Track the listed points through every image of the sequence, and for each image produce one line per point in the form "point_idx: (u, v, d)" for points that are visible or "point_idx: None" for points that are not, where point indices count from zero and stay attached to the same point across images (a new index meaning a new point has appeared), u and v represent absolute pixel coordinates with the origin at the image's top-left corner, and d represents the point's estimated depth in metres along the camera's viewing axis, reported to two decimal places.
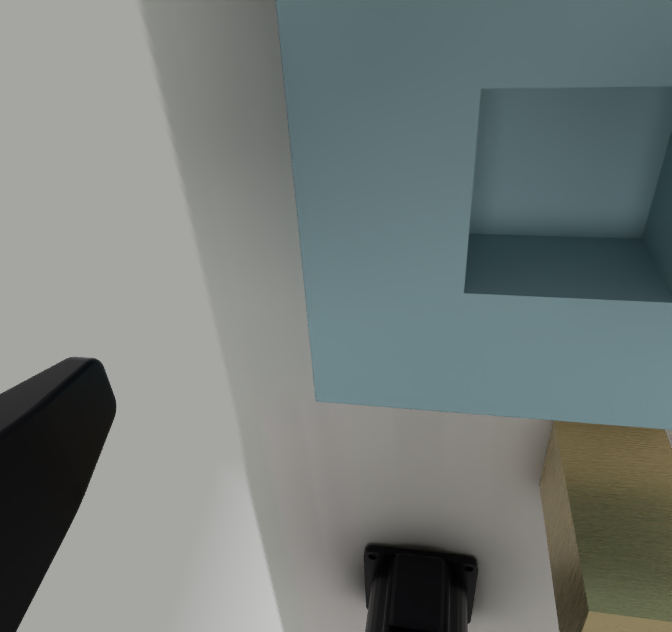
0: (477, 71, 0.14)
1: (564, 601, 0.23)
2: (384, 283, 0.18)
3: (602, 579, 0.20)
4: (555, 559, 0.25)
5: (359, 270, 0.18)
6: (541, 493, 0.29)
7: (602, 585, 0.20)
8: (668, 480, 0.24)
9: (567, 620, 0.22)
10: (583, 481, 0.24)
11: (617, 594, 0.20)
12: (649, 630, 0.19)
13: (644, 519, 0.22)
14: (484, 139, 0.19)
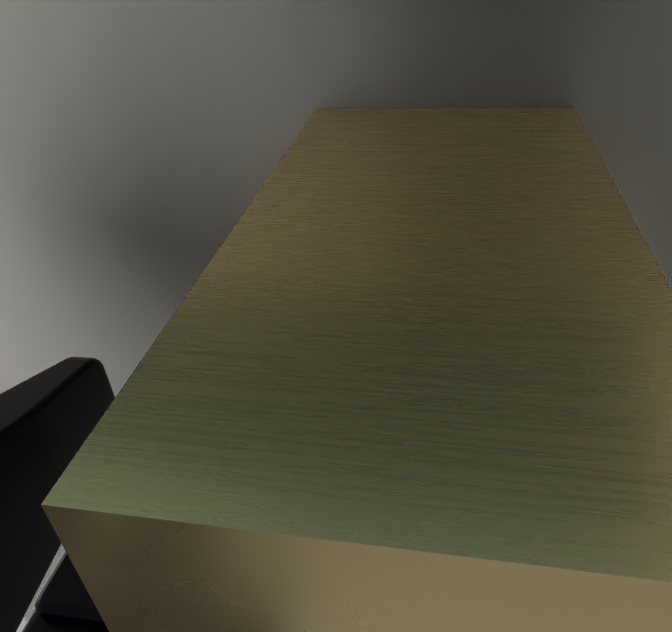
0: None
1: None
2: None
3: (200, 387, 0.05)
4: None
5: None
6: None
7: (185, 406, 0.05)
8: (561, 171, 0.08)
9: None
10: (313, 181, 0.08)
11: (225, 436, 0.04)
12: (354, 605, 0.04)
13: (455, 237, 0.07)
14: None
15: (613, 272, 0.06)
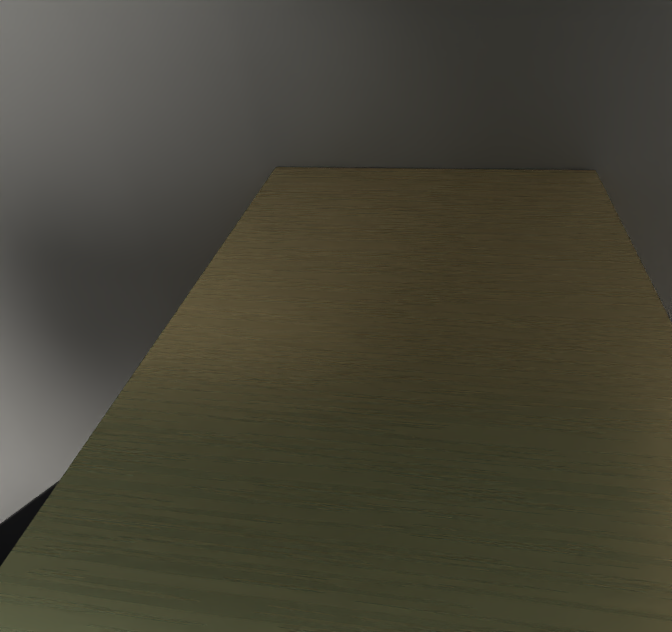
0: None
1: None
2: None
3: None
4: None
5: None
6: None
7: None
8: (588, 284, 0.06)
9: None
10: (251, 294, 0.06)
11: None
12: None
13: (442, 417, 0.04)
14: None
15: None
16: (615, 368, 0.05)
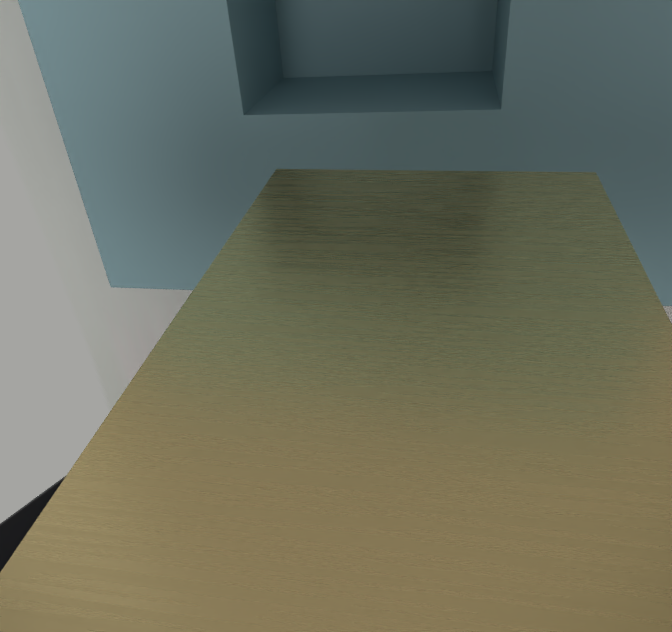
0: None
1: None
2: (147, 107, 0.14)
3: None
4: None
5: (113, 91, 0.14)
6: None
7: None
8: (589, 286, 0.06)
9: None
10: (252, 297, 0.06)
11: None
12: None
13: (443, 420, 0.04)
14: None
15: None
16: (616, 371, 0.05)
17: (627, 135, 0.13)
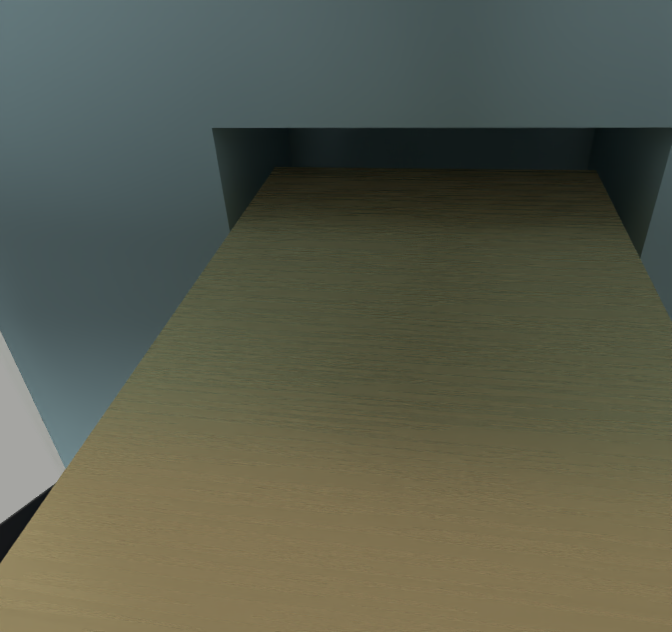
0: (198, 98, 0.08)
1: None
2: None
3: None
4: None
5: (107, 394, 0.12)
6: None
7: None
8: (589, 284, 0.06)
9: None
10: (250, 295, 0.06)
11: None
12: None
13: (441, 419, 0.04)
14: None
15: None
16: (616, 369, 0.05)
17: None
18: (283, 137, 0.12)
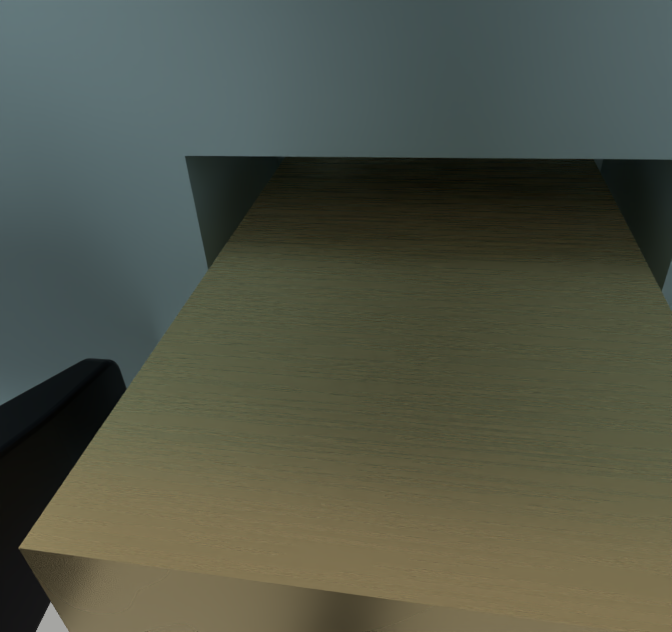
0: (169, 123, 0.07)
1: None
2: None
3: (188, 417, 0.05)
4: None
5: None
6: None
7: (172, 439, 0.04)
8: (561, 186, 0.08)
9: None
10: (307, 196, 0.08)
11: (212, 474, 0.04)
12: None
13: (452, 257, 0.06)
14: None
15: (614, 295, 0.06)
16: (575, 231, 0.07)
17: None
18: (270, 157, 0.11)
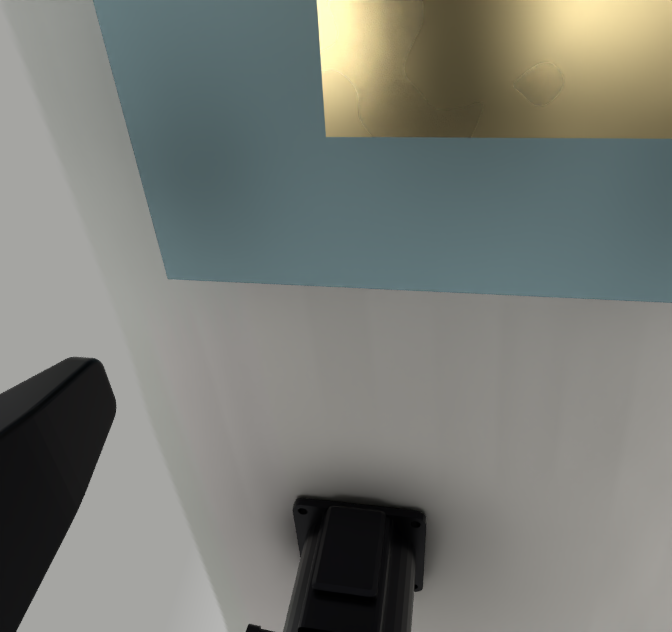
0: None
1: None
2: (224, 76, 0.12)
3: None
4: None
5: (186, 56, 0.12)
6: None
7: None
8: None
9: None
10: None
11: None
12: None
13: None
14: None
15: None
16: None
17: None
18: None
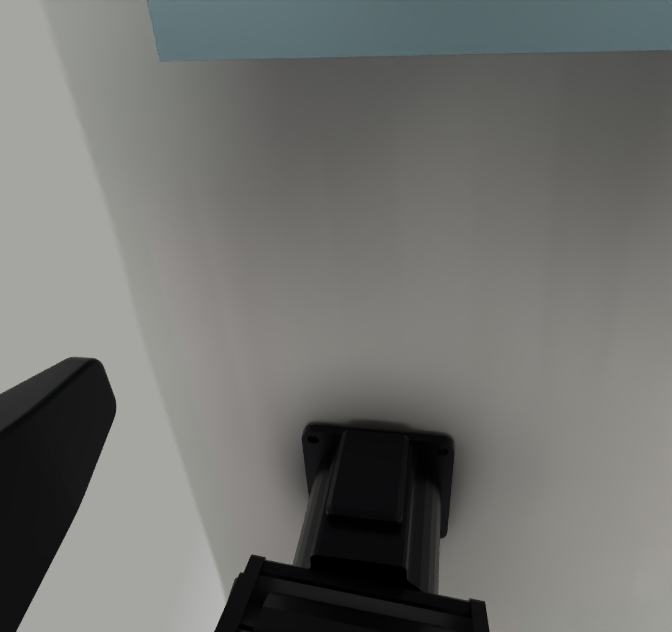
0: None
1: None
2: None
3: None
4: None
5: None
6: None
7: None
8: None
9: None
10: None
11: None
12: None
13: None
14: None
15: None
16: None
17: None
18: None
